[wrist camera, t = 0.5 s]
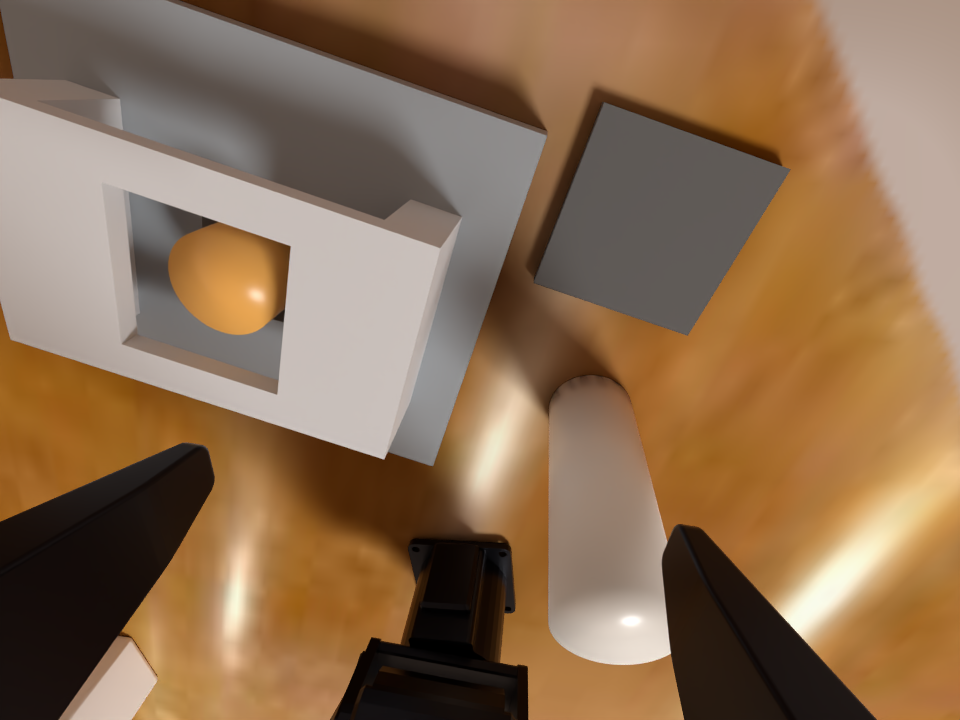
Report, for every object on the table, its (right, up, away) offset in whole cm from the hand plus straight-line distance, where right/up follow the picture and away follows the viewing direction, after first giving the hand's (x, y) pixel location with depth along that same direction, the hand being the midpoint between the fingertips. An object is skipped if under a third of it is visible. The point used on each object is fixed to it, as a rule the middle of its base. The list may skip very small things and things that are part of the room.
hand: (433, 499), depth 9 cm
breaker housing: (-8, +8, +12) cm, 16 cm away
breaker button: (-8, +7, +10) cm, 15 cm away
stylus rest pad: (+8, +8, +10) cm, 15 cm away
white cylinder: (+6, 0, +14) cm, 16 cm away
